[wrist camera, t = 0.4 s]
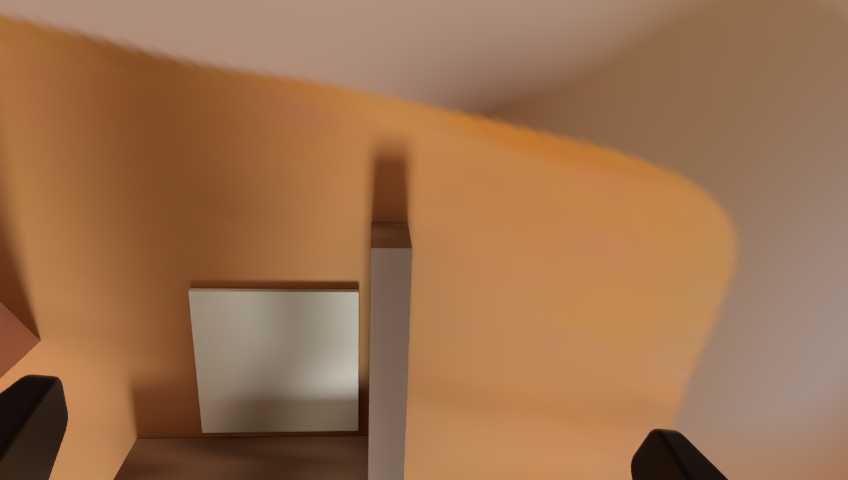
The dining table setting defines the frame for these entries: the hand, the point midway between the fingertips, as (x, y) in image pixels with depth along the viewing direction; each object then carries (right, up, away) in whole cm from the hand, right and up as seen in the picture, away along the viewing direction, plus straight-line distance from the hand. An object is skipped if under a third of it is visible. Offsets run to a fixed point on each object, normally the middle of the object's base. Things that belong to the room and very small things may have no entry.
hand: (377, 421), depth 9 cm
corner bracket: (-6, -3, +17) cm, 18 cm away
